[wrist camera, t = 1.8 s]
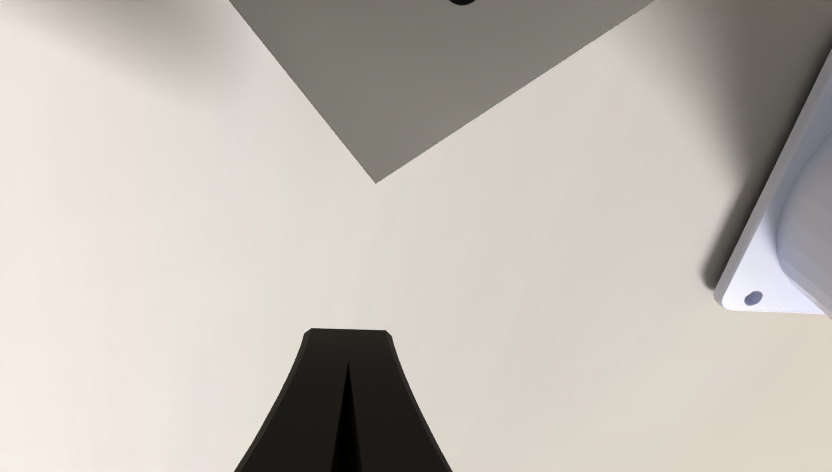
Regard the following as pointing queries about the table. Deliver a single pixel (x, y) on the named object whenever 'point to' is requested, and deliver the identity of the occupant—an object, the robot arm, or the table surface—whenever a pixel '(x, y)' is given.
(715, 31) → the table surface
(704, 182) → the table surface
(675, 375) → the table surface
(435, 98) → the dice cube
